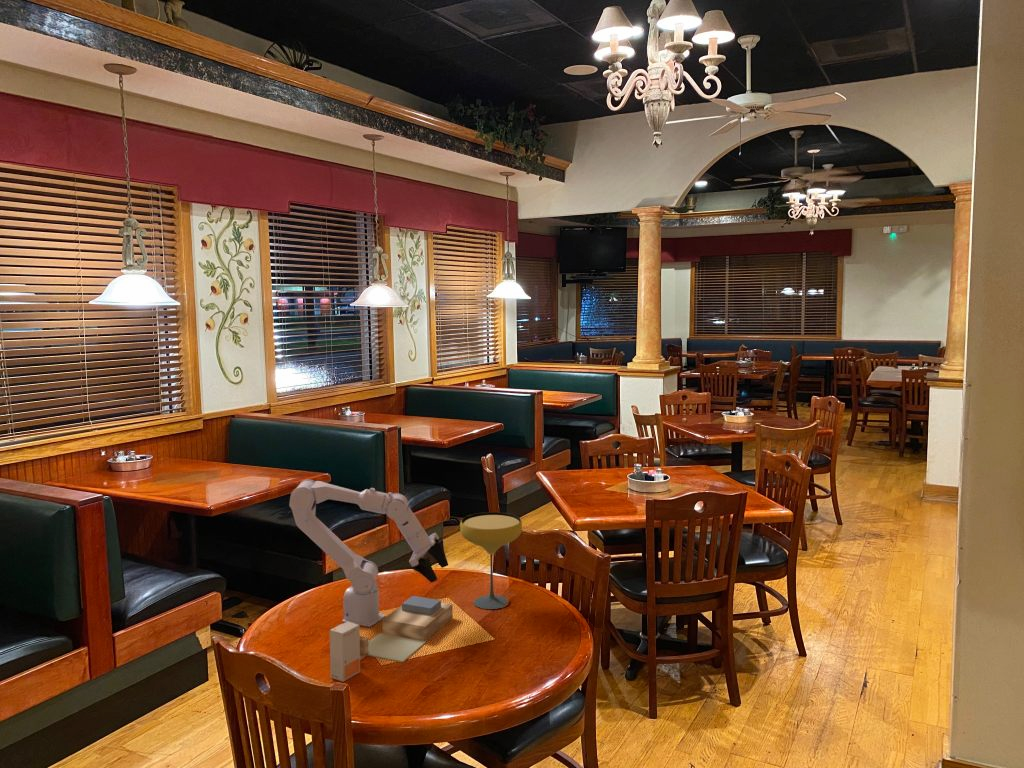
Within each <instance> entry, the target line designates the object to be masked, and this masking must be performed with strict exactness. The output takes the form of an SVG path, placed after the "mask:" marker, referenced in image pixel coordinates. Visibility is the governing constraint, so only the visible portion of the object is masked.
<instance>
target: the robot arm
mask: <svg viewBox="0 0 1024 768" xmlns="http://www.w3.org/2000/svg"><path fill="white" fill-rule="evenodd" d="M327 500H332V501H339V502H344V503H350V504H355V505H357V506H358V507H359V508H360V510H362V511H367V512H371V513H377V514H381V515H386V516H387V517H388V518H390V519H391V520H393V521H394V522H395V524H396V527H397V529H398V530H399V532H400V533H401V535H402V536H403V537H404V539H405V541H406V542H407V544H408V545H409V547H410V548H411V550H412V551H413V552H412V555H411V557H410V559H409V560H408V562H409V564H410V568H411V569H412V570H413V571H415V572H417V573H418V574H421V575H422V576H424V578H426V580H428V582H430V583H431V584H432V583H434V582H437V581H438V577H437V574H436V573H435V571H434V570H433V567H432V565H431V561H430V559H431V558H430V557H426V558H424V557H425V555H426V554H427V553H429V554H430V555H431V556H432V558H433V559H434V560H435V561H436V563H437V564H438V565H439V566H440V568H442V569H443V568H445V567H447V566H449V562H448V559H447V556H446V552H445V549H444V548H445V546H444V540H443V539H441V538H440V537H439V535H438V534H437V532H434V533H432V534H430V535H428V533H427V532H426V530H425V528H424V527H423V526H422V524H421V522H420V521H419V518H417V516H416V515H415V513H414V512H413V511H412V509H411V507H410V506H409V502H408V498H407V497H406V496H405V495H404V494H401V493H399V492H395V493H393V492H389V491H388V493H386V492H382V491H378V490H376V489H375V488H374V487H370V488H369V489H368V488H366V489H364V490H362V491H357V490H353V489H350V488H346V487H342V486H339V485H335V484H331V483H328V482H324V481H320V480H316V481H315V480H313V479H304V480H302V481H301V482H300V483H299V484H298V486H297V487H296V488H295V489H293V490H292V491H291V493H290V497H289V508H290V509H291V512H292V515H293V518H294V521H295V525H296V526H297V528H298V529H299V530H300V531H301V532H303V533H304V534H305V535H306V536H307V537H308V538H309V539H310V540H311V541H312V542H313V543H315V545H316V546H317V547H319V548H320V549H321V551H323V552H324V553H325V554H326V555H328V557H330V559H331V560H333V561H334V562H335V563H336V564H337V565H338V566H339V567H340V568H341V569H342V570H343V572H344V575H345V578H346V580H348V581H349V582H350V584H351V586H349V587H347V588H346V590H345V592H344V593H343V594H344V595H343V599H342V603H343V605H342V606H343V619H342V620H341V622H342V623H345V622H347V621H348V622H351V623H354V624H358V625H359V626H364V627H369V628H370V627H372V626H374V625H375V624H377V623H378V622H380V621H381V620H382V619H383V618H385V617H386V614H384V613H380V595H379V594H380V593H379V592H380V591H379V590H380V589H379V585H378V583H377V581H376V580H377V577H378V575H379V568H378V566H377V564H376V563H375V562H374V561H371V560H367V559H366V558H364V557H363V556H362V555H359V554H356V553H355V552H354V551H353V550H352V549H351V548H350V547H349V546H348V545H347V544H345V543H344V542H343V541H342V540H341V539H340V538H339V537H338V536H337V535H336V534H335V533H334V532H333V531H332V530H331V529H330V528H328V526H327V525H325V523H323V522H322V521H321V520H320V519H319V518H318V517H317V516H316V513H317V512H316V511H317V509H316V508H317V505H318V504H320V503H323V502H325V501H327Z"/></svg>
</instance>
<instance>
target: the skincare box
mask: <svg viewBox="0 0 1024 768" xmlns="http://www.w3.org/2000/svg"><path fill="white" fill-rule="evenodd" d="M360 632H361V631H360V625H358V624H354V623H351V622H348V621H347V622H342V623H341V624H338V625H336V626H335V627H332V628H331V629H329V659H330V660H329V661H330V662H329V663H330V678H331V679H334V680H336V681H339V682H342V683H343V682H345V681H347V680H349V679H351V678H352V677H355V676H356V675H357V674H359V673H361V660H360Z"/></svg>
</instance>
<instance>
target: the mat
mask: <svg viewBox="0 0 1024 768" xmlns="http://www.w3.org/2000/svg"><path fill="white" fill-rule="evenodd" d="M426 643H427V640H426V641H422V640H416V639H411V638H405V637H399V636H394V635H388V634H383V632H379V633H378V634H377V635H375V636H374V637H372V639H370V640H368V651H369V653H368V654H367V656H368V657H373V658H379V659H383V660H389V661H393V662H394V661H395V662H398V663H404V662H405V661H406V660H407V659H409V658H410V657H411V656H412V655H414V654H415V653H416V652H417V651H418V650H419V649H420V648H422V647H423V646H424V645H425V644H426Z"/></svg>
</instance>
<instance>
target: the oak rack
mask: <svg viewBox="0 0 1024 768" xmlns="http://www.w3.org/2000/svg"><path fill="white" fill-rule="evenodd" d="M368 642H369V637H366V636H360V661H361V660H363V659H364V658H365V657H366V656H367V654H368V653H369V651H368Z"/></svg>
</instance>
